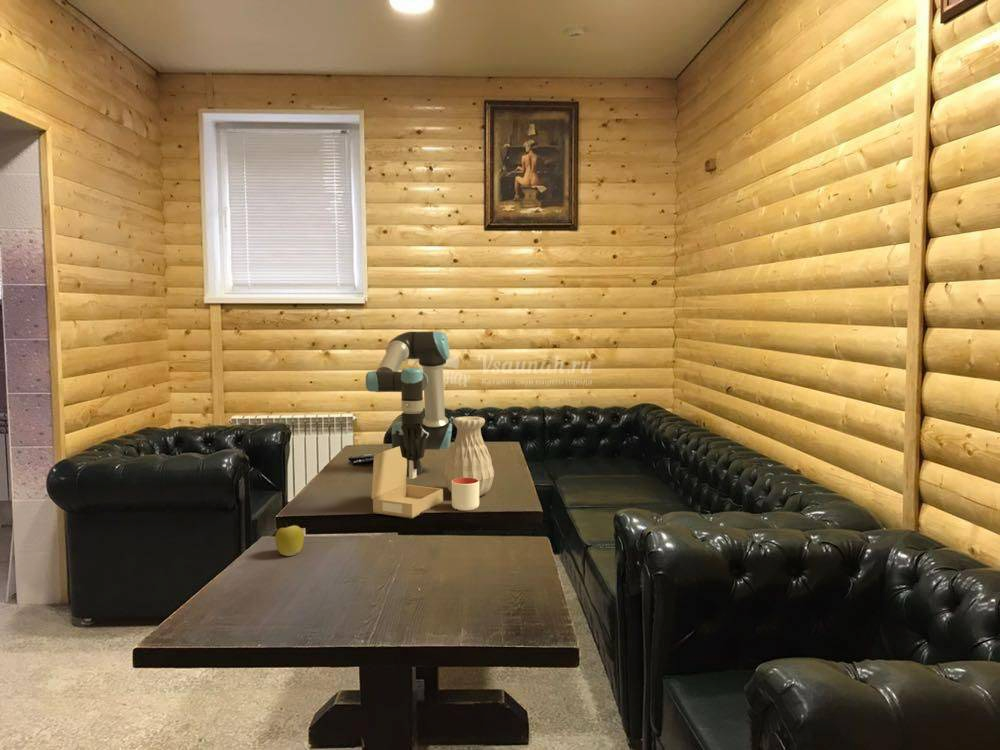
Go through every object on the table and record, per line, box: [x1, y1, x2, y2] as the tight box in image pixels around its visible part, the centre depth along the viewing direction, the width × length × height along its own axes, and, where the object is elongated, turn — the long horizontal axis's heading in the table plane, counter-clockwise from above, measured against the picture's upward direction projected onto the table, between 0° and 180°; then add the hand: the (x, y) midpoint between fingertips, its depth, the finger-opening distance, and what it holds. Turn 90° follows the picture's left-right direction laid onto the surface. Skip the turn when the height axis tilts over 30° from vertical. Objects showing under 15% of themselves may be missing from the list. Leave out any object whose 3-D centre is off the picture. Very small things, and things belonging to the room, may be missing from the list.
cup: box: [451, 478, 480, 512], centre depth 241 cm, size 10×10×10 cm
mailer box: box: [372, 484, 444, 519], centre depth 242 cm, size 22×16×5 cm
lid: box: [371, 446, 407, 500], centre depth 244 cm, size 22×16×1 cm
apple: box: [274, 522, 305, 557], centre depth 194 cm, size 8×8×10 cm
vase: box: [443, 415, 495, 497], centre depth 259 cm, size 20×20×30 cm
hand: (412, 477), depth 236 cm, fingers closed
